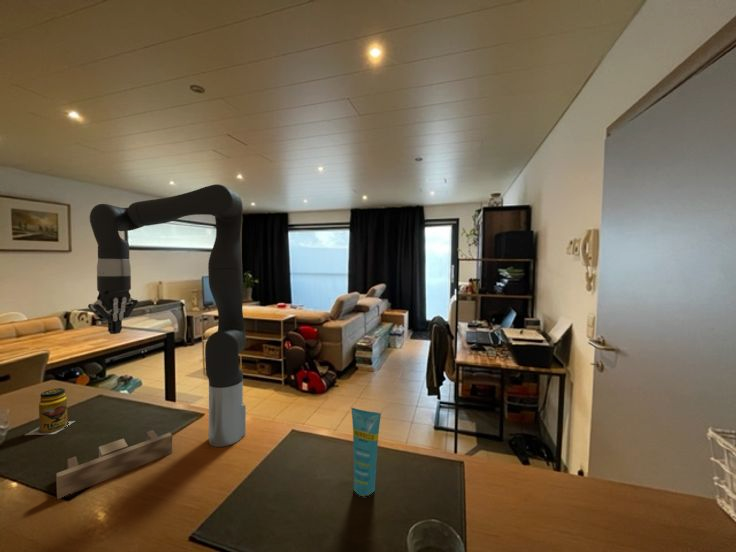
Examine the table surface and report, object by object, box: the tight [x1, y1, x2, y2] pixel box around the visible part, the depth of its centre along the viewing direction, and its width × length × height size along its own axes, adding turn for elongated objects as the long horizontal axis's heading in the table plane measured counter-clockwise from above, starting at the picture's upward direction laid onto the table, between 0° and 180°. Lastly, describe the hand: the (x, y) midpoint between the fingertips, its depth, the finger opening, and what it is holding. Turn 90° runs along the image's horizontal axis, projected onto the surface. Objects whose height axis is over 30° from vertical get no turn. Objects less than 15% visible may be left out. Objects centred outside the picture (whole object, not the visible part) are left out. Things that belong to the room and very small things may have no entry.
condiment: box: [24, 387, 76, 436], centre depth 93 cm, size 7×8×12 cm
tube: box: [351, 407, 382, 496], centre depth 69 cm, size 7×5×19 cm, turn 72°
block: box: [98, 438, 129, 458], centre depth 77 cm, size 5×5×5 cm
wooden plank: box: [56, 429, 173, 500], centre depth 77 cm, size 22×9×5 cm, turn 140°
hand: (115, 333), depth 87 cm, fingers closed
